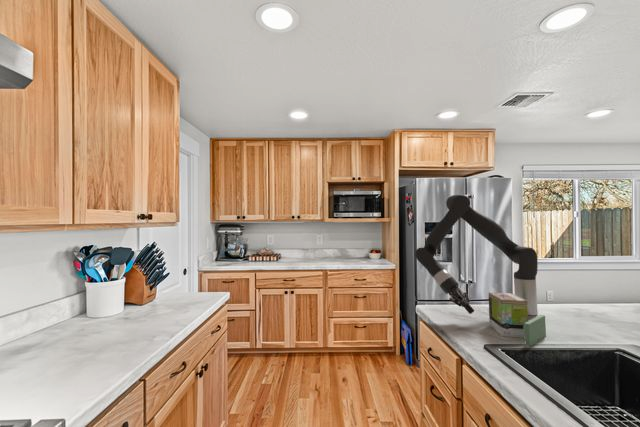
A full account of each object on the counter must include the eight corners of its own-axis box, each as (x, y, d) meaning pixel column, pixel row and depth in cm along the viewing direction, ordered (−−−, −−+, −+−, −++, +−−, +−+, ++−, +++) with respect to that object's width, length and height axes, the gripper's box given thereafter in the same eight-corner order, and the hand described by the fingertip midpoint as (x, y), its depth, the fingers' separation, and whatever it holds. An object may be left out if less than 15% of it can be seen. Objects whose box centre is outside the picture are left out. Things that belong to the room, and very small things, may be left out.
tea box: (530, 338, 119) (528, 300, 120) (501, 337, 121) (500, 299, 122) (513, 326, 134) (512, 292, 135) (488, 325, 136) (487, 291, 137)
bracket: (539, 334, 124) (538, 314, 124) (546, 335, 122) (544, 315, 122) (523, 344, 113) (522, 322, 114) (530, 346, 111) (529, 324, 112)
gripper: (443, 277, 141) (471, 310, 131) (457, 275, 149) (485, 305, 139) (433, 287, 145) (459, 320, 135) (447, 284, 153) (473, 314, 143)
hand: (472, 312), depth 137 cm, fingers closed
